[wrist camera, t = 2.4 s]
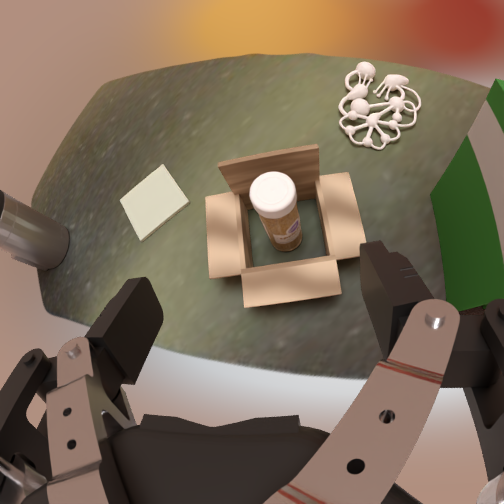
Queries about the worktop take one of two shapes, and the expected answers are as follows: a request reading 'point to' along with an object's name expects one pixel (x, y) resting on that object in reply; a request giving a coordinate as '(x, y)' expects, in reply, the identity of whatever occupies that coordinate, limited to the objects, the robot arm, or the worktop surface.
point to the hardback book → (474, 210)
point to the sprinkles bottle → (277, 209)
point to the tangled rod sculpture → (375, 105)
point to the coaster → (153, 202)
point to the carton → (307, 187)
